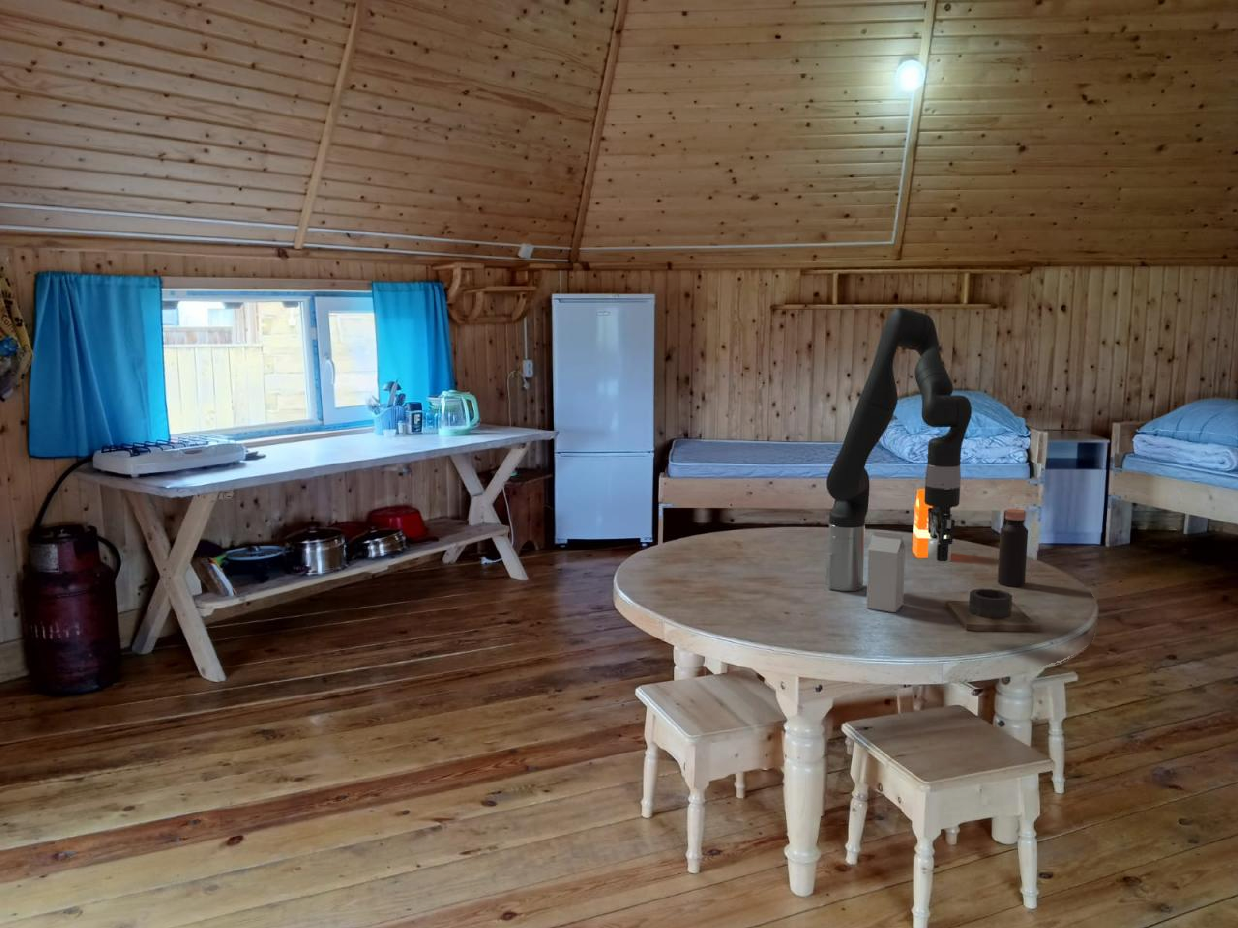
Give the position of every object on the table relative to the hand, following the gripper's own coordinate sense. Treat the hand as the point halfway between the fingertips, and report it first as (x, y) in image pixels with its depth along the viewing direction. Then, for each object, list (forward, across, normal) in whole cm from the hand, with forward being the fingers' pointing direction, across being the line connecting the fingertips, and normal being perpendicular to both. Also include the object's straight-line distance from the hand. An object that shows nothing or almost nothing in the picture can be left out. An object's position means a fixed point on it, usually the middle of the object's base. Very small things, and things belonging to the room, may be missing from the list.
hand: (938, 557), depth 215 cm
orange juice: (+18, -69, +16) cm, 73 cm away
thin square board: (+17, -9, +15) cm, 25 cm away
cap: (+1, 0, 0) cm, 1 cm away
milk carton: (+18, -17, -8) cm, 26 cm away
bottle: (+17, -39, +30) cm, 52 cm away
